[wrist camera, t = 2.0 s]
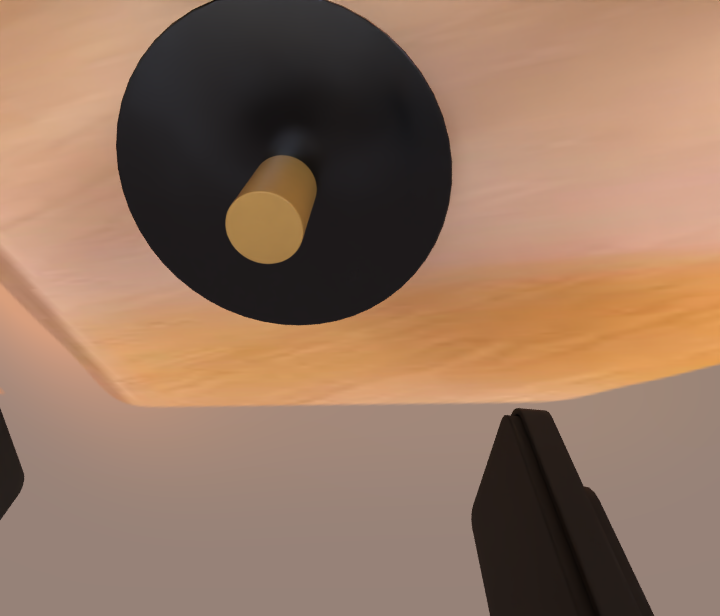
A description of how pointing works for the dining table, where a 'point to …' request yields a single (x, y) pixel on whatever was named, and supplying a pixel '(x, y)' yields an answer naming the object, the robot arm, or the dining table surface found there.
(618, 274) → the dining table surface
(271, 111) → the tin lid
